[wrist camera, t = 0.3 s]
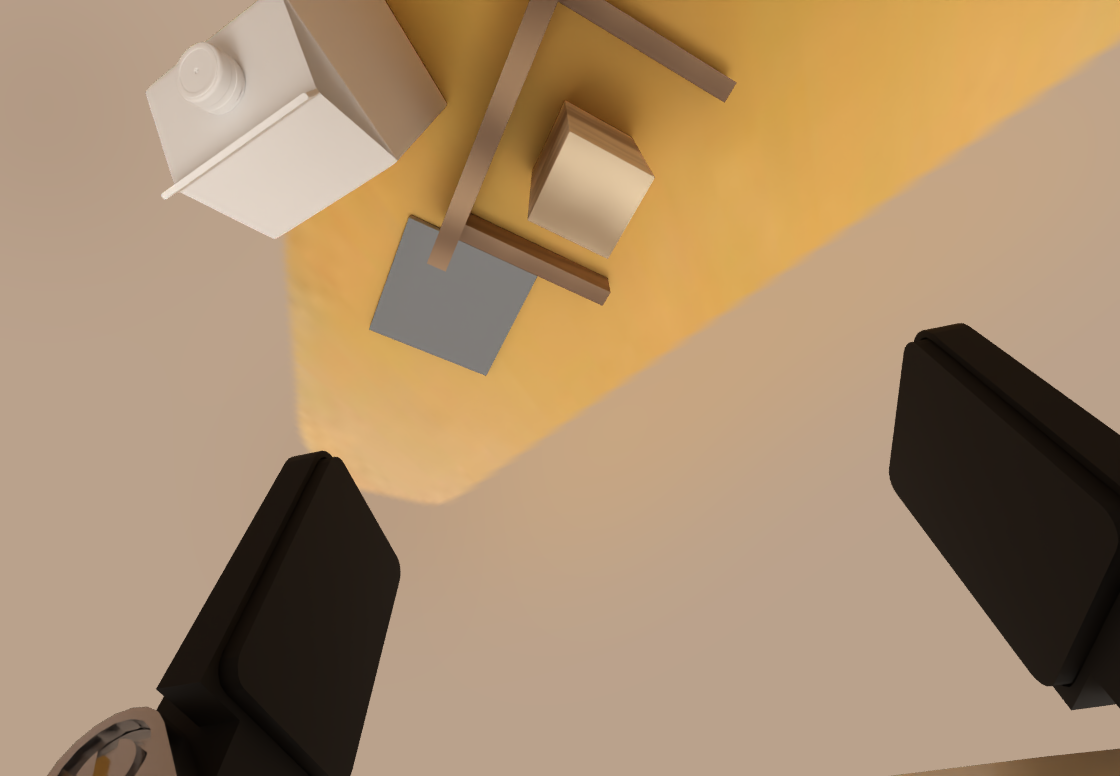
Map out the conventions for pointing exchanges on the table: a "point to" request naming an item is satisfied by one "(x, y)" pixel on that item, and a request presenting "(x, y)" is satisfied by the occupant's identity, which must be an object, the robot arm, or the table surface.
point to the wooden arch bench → (512, 78)
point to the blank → (587, 181)
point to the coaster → (450, 300)
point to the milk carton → (291, 109)
